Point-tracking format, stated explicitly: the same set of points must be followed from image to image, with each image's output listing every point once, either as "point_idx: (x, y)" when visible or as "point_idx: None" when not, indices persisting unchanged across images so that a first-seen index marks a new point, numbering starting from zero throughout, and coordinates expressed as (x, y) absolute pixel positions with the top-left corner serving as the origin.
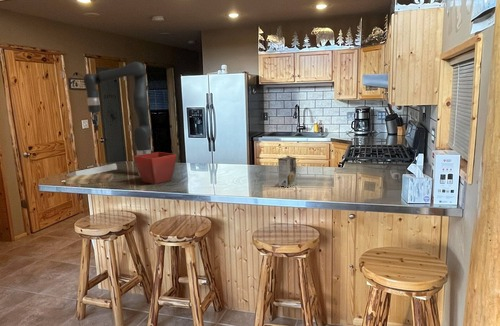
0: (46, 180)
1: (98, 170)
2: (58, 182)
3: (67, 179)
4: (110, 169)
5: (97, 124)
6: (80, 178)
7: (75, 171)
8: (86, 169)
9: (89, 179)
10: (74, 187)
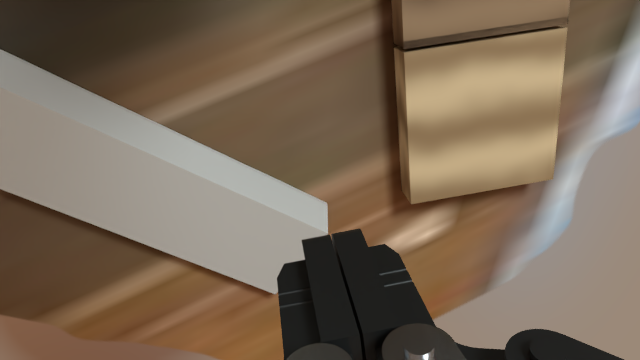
0: None
1: (146, 130)
2: (452, 243)
3: (538, 175)
4: (22, 64)
5: (438, 332)
6: (534, 101)
7: (327, 232)
8: (242, 193)
9: (562, 27)
10: (633, 77)
